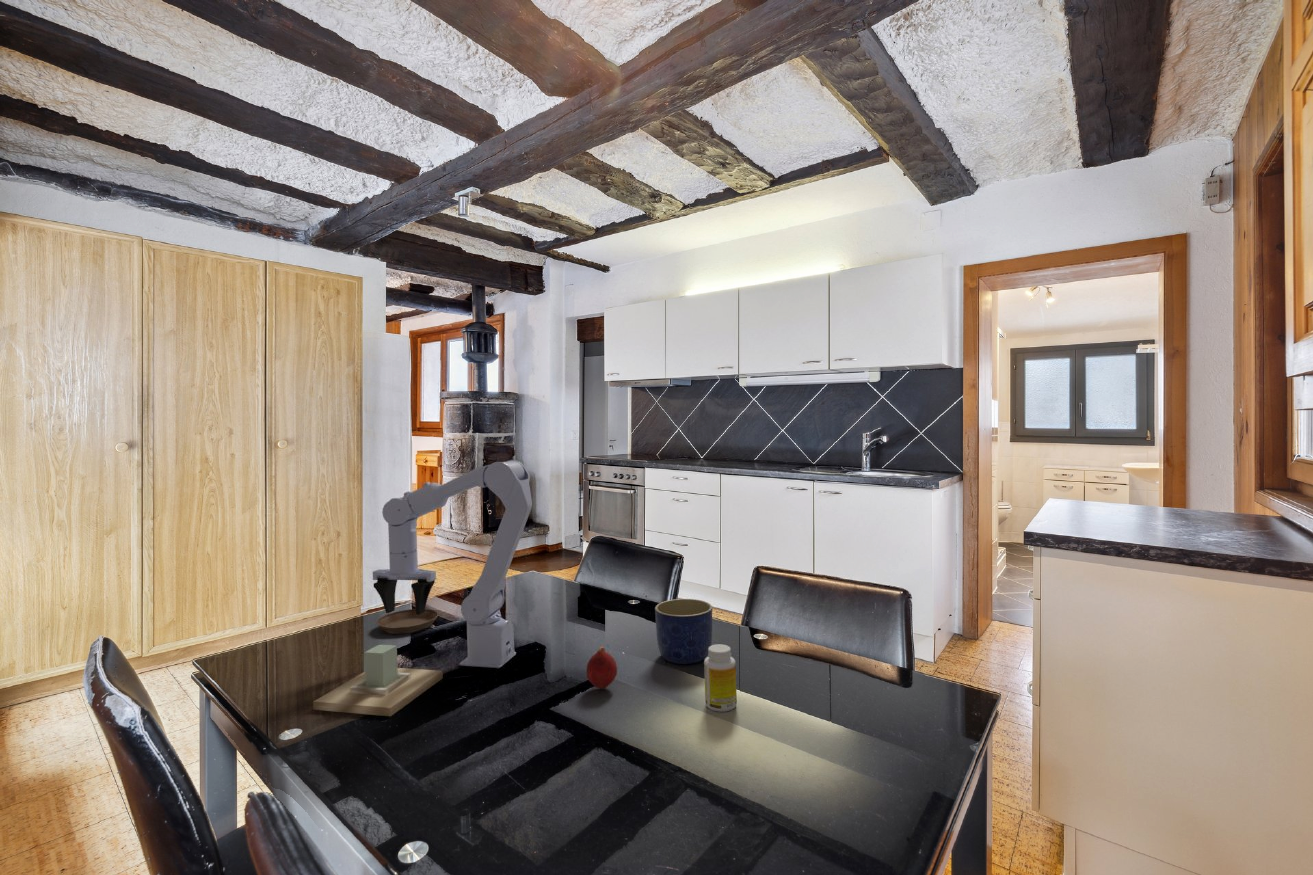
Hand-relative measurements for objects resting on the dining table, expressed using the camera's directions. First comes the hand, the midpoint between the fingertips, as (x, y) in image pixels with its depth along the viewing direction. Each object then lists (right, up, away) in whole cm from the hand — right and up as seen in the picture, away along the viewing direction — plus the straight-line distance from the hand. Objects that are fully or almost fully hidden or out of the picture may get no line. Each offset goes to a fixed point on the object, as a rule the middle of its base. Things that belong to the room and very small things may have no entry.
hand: (405, 612), depth 128 cm
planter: (+62, -9, -3) cm, 63 cm away
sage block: (+3, -9, -17) cm, 19 cm away
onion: (+45, -9, -18) cm, 50 cm away
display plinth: (+3, -11, -17) cm, 20 cm away
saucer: (-9, -11, +23) cm, 27 cm away
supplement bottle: (+67, -9, -26) cm, 73 cm away
